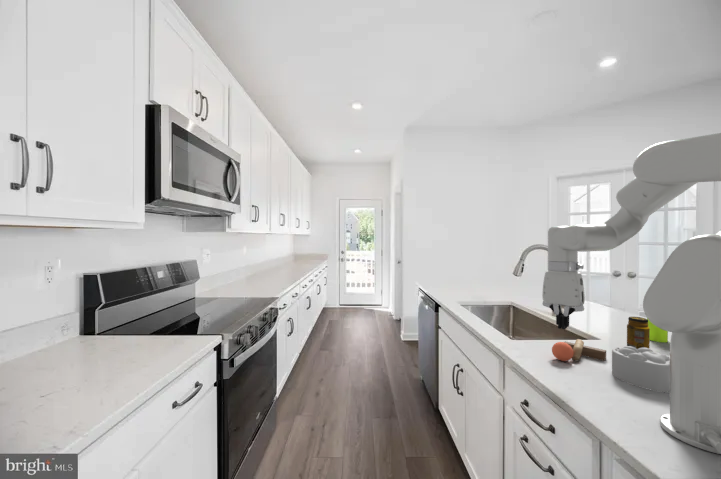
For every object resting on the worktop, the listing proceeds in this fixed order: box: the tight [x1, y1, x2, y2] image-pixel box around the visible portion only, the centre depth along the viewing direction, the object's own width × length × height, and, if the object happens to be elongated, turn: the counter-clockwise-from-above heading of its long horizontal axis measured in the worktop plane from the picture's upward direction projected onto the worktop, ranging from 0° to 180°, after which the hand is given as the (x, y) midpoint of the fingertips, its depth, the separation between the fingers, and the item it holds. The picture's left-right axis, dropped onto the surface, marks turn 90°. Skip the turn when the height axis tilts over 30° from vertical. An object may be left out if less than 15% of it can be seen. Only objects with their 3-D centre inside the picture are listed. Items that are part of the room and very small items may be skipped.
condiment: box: [626, 316, 651, 349], centre depth 110 cm, size 7×8×12 cm
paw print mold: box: [611, 345, 670, 394], centre depth 89 cm, size 10×13×9 cm
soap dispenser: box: [646, 317, 669, 343], centre depth 123 cm, size 6×7×20 cm
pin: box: [571, 338, 585, 362], centre depth 105 cm, size 2×2×8 cm
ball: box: [551, 341, 573, 362], centre depth 103 cm, size 6×6×6 cm
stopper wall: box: [563, 341, 607, 361], centre depth 108 cm, size 2×12×3 cm, turn 41°
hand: (562, 328), depth 94 cm, fingers closed
